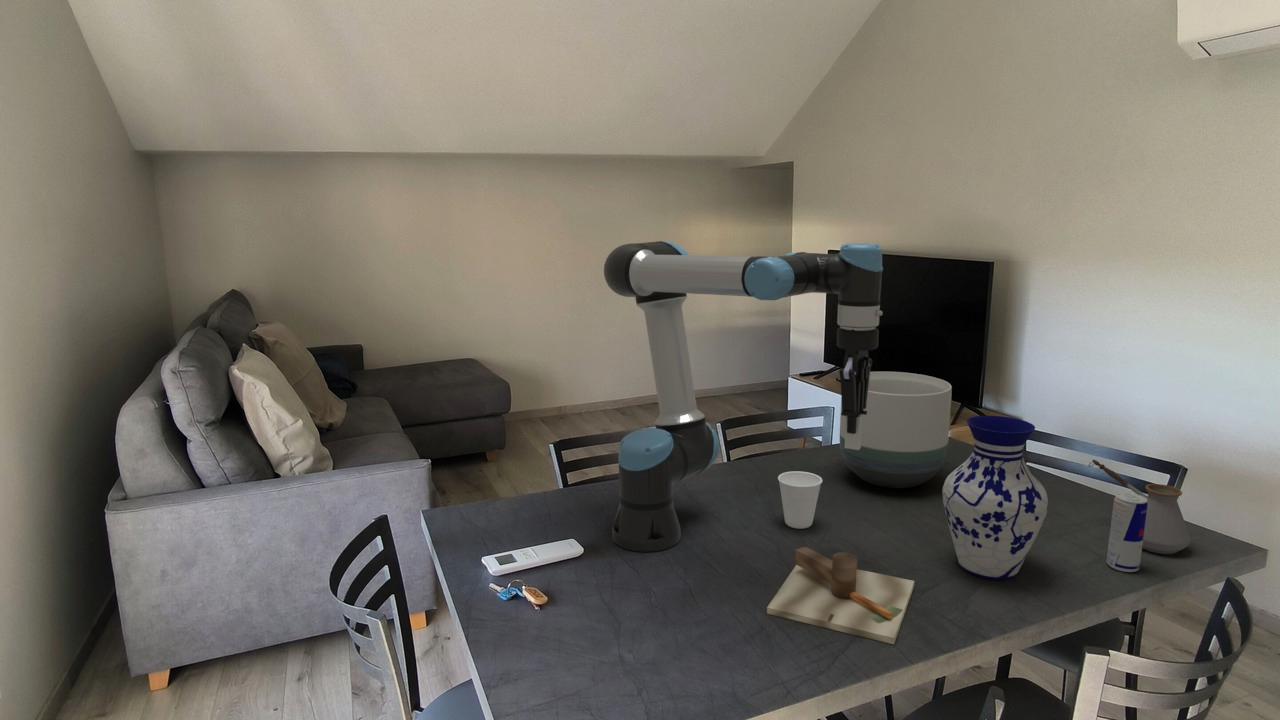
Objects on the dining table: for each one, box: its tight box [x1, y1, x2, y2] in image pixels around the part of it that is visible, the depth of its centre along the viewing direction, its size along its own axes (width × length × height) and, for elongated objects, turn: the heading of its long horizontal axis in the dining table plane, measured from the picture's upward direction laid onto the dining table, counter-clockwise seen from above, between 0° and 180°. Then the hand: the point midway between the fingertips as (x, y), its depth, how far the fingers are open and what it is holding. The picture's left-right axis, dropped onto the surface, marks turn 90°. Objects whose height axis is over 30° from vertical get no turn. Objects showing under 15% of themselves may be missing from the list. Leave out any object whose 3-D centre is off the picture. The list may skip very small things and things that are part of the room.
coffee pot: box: [1088, 459, 1192, 555], centre depth 165 cm, size 21×12×15 cm, turn 29°
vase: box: [942, 415, 1049, 581], centre depth 151 cm, size 19×19×30 cm
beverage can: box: [1106, 491, 1148, 573], centre depth 152 cm, size 6×6×15 cm
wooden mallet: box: [794, 546, 893, 619], centre depth 141 cm, size 22×4×7 cm, turn 32°
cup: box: [777, 470, 823, 530], centre depth 174 cm, size 10×10×11 cm
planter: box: [839, 371, 953, 489], centre depth 198 cm, size 27×27×27 cm
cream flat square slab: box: [766, 564, 915, 645], centre depth 141 cm, size 22×22×1 cm
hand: (852, 447), depth 147 cm, fingers closed
